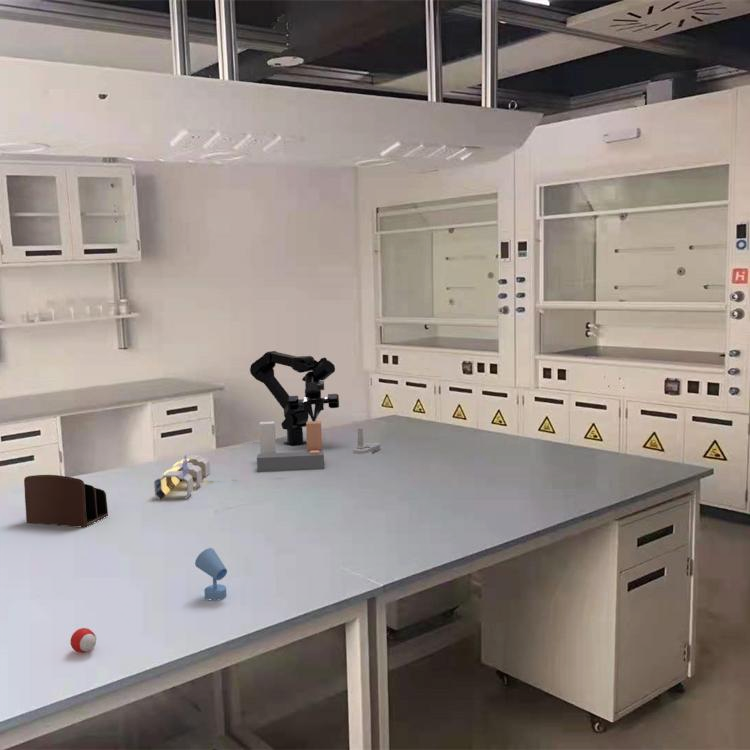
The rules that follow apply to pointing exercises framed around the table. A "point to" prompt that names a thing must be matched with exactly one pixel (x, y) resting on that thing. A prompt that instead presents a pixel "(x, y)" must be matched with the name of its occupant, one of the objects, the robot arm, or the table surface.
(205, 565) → the spotlight
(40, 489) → the letter holder
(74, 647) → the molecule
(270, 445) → the key
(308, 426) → the key
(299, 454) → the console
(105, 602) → the table surface
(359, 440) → the electronic device
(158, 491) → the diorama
